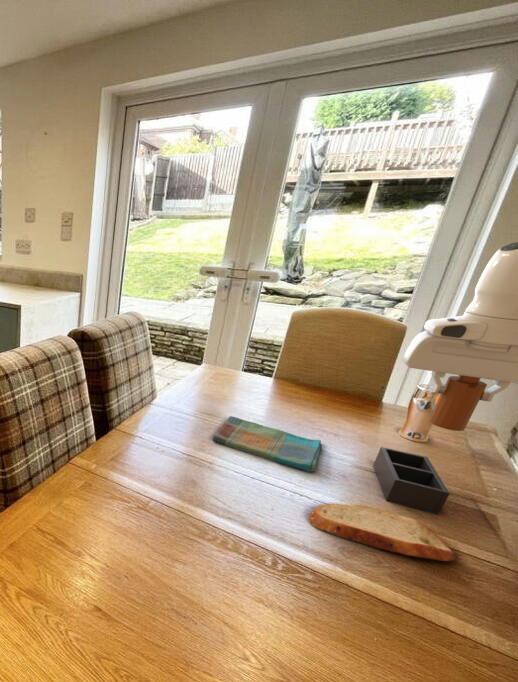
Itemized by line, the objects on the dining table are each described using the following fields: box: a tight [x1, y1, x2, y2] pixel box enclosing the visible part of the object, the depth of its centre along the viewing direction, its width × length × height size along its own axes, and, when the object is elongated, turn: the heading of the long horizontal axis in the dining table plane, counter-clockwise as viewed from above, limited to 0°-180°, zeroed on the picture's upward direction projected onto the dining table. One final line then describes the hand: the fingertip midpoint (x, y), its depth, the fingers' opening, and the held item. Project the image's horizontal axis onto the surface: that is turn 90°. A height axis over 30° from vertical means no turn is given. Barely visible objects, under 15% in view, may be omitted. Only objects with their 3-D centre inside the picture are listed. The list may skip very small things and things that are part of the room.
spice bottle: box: [429, 375, 488, 432], centre depth 80 cm, size 5×5×13 cm
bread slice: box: [307, 503, 455, 562], centre depth 76 cm, size 18×18×4 cm
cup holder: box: [372, 446, 450, 516], centre depth 90 cm, size 8×16×6 cm, turn 147°
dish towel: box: [212, 415, 323, 473], centre depth 108 cm, size 17×23×2 cm
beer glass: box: [398, 384, 441, 443], centre depth 110 cm, size 7×7×15 cm
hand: (459, 396), depth 80 cm, fingers closed on spice bottle, 5 cm apart
